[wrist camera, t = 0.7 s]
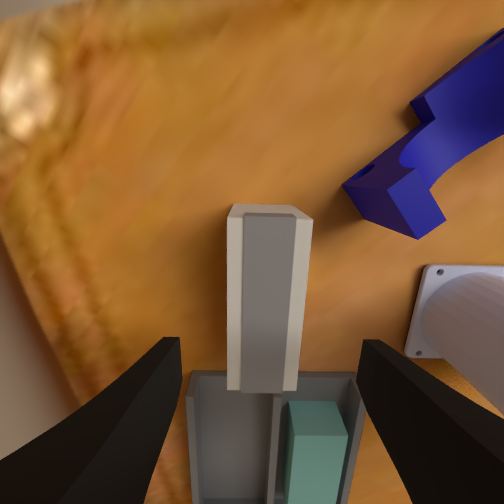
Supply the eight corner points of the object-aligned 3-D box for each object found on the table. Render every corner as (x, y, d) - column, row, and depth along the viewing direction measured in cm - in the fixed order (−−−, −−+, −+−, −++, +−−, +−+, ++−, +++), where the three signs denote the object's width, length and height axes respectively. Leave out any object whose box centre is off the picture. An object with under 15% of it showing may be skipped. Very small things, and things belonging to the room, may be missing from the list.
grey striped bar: (291, 203, 17) (314, 218, 12) (282, 330, 20) (296, 393, 15) (234, 201, 17) (226, 215, 11) (233, 330, 20) (227, 392, 14)
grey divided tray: (354, 372, 22) (371, 402, 19) (332, 496, 26) (343, 536, 23) (192, 370, 21) (183, 401, 18) (199, 496, 26) (193, 536, 23)
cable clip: (499, 30, 15) (659, -62, 9) (527, 98, 16) (687, 54, 10) (328, 166, 17) (369, 162, 11) (363, 218, 18) (418, 239, 12)
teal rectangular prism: (335, 401, 22) (348, 435, 19) (322, 481, 25) (332, 521, 22) (288, 400, 22) (294, 435, 19) (281, 481, 24) (286, 521, 22)
